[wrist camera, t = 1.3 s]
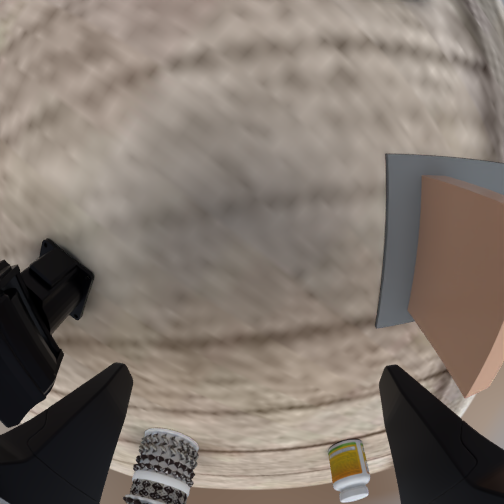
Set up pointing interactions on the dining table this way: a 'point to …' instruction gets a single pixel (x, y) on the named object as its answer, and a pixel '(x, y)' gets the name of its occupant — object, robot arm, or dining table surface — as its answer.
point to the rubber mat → (416, 221)
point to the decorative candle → (163, 468)
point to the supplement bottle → (349, 470)
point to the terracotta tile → (461, 279)
